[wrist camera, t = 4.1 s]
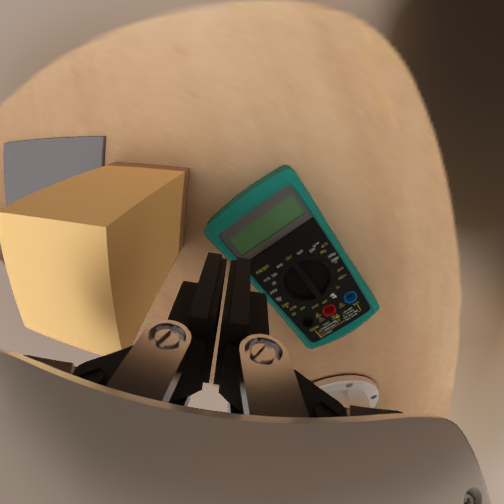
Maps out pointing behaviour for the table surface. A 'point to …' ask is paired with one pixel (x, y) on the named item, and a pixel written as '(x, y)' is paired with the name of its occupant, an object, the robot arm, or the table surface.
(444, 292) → the table surface
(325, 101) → the table surface
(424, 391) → the table surface
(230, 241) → the digital multimeter
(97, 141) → the mat
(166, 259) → the ochre block
